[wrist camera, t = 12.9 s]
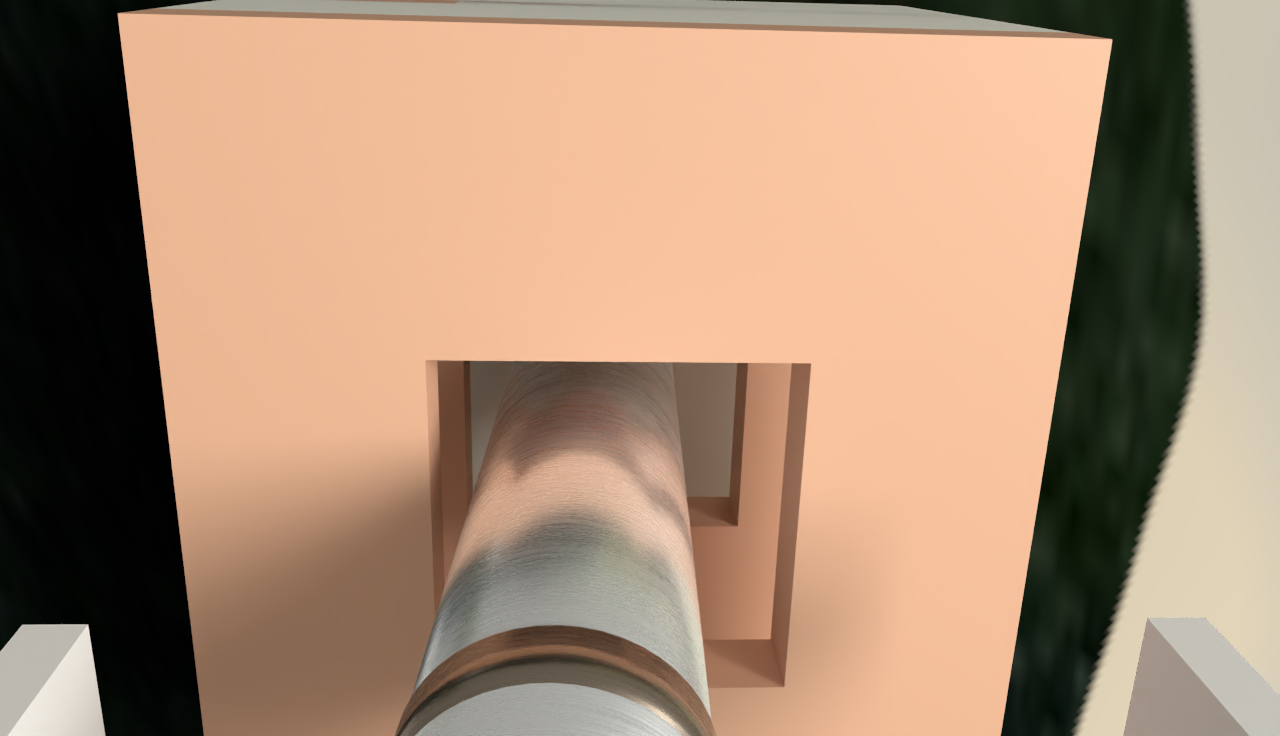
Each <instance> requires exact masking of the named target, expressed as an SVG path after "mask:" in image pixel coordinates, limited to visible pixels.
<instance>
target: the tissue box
mask: <svg viewBox="0 0 1280 736" xmlns="http://www.w3.org/2000/svg"><path fill="white" fill-rule="evenodd" d="M118 20H119V28H120V37H121V45H122V53H123V62H124V70H125V79H126V87H127V95H128V104H129V112H130V120H131V129H132V137H133V145H134V154H135V162H136V170H137V179H138V187H139V196H140V204H141V212H142V221H143V229H144V237H145V246H146V254H147V262H148V271H149V279H150V288H151V296H152V304H153V313H154V321H155V329H156V338H157V346H158V354H159V363H160V371H161V379H162V388H163V396H164V405H165V413H166V421H167V430H168V438H169V446H170V455H171V463H172V471H173V480H174V488H175V497H176V505H177V513H178V522H179V530H180V538H181V547H182V555H183V563H184V572H185V580H186V588H187V597H188V605H189V614H190V622H191V630H192V639H193V647H194V655H195V664H196V672H197V680H198V689H199V697H200V706H201V714H202V722H203V731H204V736H395V733H396V730H397V727H398V724H399V722H400V719H401V716H402V714H403V711H404V709H405V707H406V705H407V704H408V702H409V700H410V698H411V696H412V693H413V690H414V686H415V683H416V680H417V676H418V673H419V670H420V667H421V663H422V660H423V657H424V653H425V650H426V647H427V644H428V640H429V637H430V634H431V630H432V627H433V624H434V620H435V617H436V614H437V611H438V607H439V604H440V601H441V597H442V594H443V591H444V587H445V584H446V581H447V578H448V574H449V571H450V568H451V564H452V561H453V558H454V554H455V551H456V548H457V545H458V541H459V538H460V535H461V531H462V528H463V525H464V521H465V518H466V515H467V512H468V508H469V505H470V502H471V498H472V495H473V492H474V489H475V485H476V482H477V479H478V475H479V472H480V469H481V465H482V462H483V459H484V456H485V452H486V449H487V446H488V442H489V439H490V436H491V432H492V429H493V426H494V423H495V419H496V416H497V413H498V409H499V406H500V403H501V399H502V396H503V393H504V390H505V386H506V383H507V380H508V376H509V373H510V370H511V366H512V363H513V361H576V362H672V367H673V376H674V385H675V394H676V403H677V412H678V421H679V430H680V439H681V448H682V457H683V467H684V476H685V485H686V494H687V503H688V512H689V521H690V530H691V539H692V548H693V557H694V566H695V576H696V585H697V594H698V603H699V612H700V621H701V630H702V639H703V648H704V657H705V666H706V675H707V685H708V694H709V703H710V712H711V721H712V724H713V727H714V730H715V733H716V736H1000V735H1001V729H1002V723H1003V717H1004V710H1005V704H1006V698H1007V692H1008V686H1009V679H1010V673H1011V667H1012V661H1013V654H1014V648H1015V642H1016V636H1017V630H1018V623H1019V617H1020V611H1021V605H1022V599H1023V592H1024V586H1025V580H1026V574H1027V567H1028V561H1029V555H1030V549H1031V543H1032V536H1033V530H1034V524H1035V518H1036V511H1037V505H1038V499H1039V493H1040V487H1041V480H1042V474H1043V468H1044V462H1045V456H1046V449H1047V443H1048V437H1049V431H1050V424H1051V418H1052V412H1053V406H1054V400H1055V393H1056V387H1057V381H1058V375H1059V369H1060V362H1061V356H1062V350H1063V344H1064V337H1065V331H1066V325H1067V319H1068V313H1069V306H1070V300H1071V294H1072V288H1073V281H1074V275H1075V269H1076V263H1077V257H1078V250H1079V244H1080V238H1081V232H1082V226H1083V219H1084V213H1085V207H1086V201H1087V194H1088V188H1089V182H1090V176H1091V170H1092V163H1093V157H1094V151H1095V145H1096V139H1097V132H1098V126H1099V120H1100V114H1101V107H1102V101H1103V95H1104V89H1105V83H1106V76H1107V70H1108V64H1109V58H1110V51H1111V45H1112V39H1107V38H1100V37H1094V36H1088V35H1081V34H1075V33H1069V32H1062V31H1056V30H1050V29H1043V28H1037V27H1031V26H1024V25H1018V24H1012V23H1005V22H999V21H993V20H987V19H980V18H974V17H968V16H961V15H955V14H949V13H942V12H936V11H930V10H923V9H917V8H911V7H904V6H891V5H855V4H819V3H783V2H747V1H711V0H216V1H208V2H201V3H193V4H185V5H178V6H170V7H162V8H155V9H147V10H139V11H132V12H124V13H118Z"/></svg>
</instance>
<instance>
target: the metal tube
mask: <svg viewBox="0 0 1280 736" xmlns="http://www.w3.org/2000/svg"><path fill="white" fill-rule="evenodd" d="M395 736H716V733H715V730H714V727H713V724H712V721H711V712H710V703H709V694H708V685H707V675H706V666H705V657H704V648H703V639H702V630H701V621H700V612H699V603H698V594H697V585H696V576H695V566H694V557H693V548H692V539H691V530H690V521H689V512H688V503H687V494H686V485H685V476H684V467H683V457H682V448H681V439H680V430H679V421H678V412H677V403H676V394H675V385H674V376H673V367H672V362H576V361H513V363H512V366H511V370H510V373H509V376H508V380H507V383H506V386H505V390H504V393H503V396H502V399H501V403H500V406H499V409H498V413H497V416H496V419H495V423H494V426H493V429H492V432H491V436H490V439H489V442H488V446H487V449H486V452H485V456H484V459H483V462H482V465H481V469H480V472H479V475H478V479H477V482H476V485H475V489H474V492H473V495H472V498H471V502H470V505H469V508H468V512H467V515H466V518H465V521H464V525H463V528H462V531H461V535H460V538H459V541H458V545H457V548H456V551H455V554H454V558H453V561H452V564H451V568H450V571H449V574H448V578H447V581H446V584H445V587H444V591H443V594H442V597H441V601H440V604H439V607H438V611H437V614H436V617H435V620H434V624H433V627H432V630H431V634H430V637H429V640H428V644H427V647H426V650H425V653H424V657H423V660H422V663H421V667H420V670H419V673H418V676H417V680H416V683H415V686H414V690H413V693H412V696H411V698H410V700H409V702H408V704H407V705H406V707H405V709H404V711H403V714H402V716H401V719H400V722H399V724H398V727H397V730H396V733H395Z"/></svg>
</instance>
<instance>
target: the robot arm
mask: <svg viewBox="0 0 1280 736" xmlns="http://www.w3.org/2000/svg"><path fill="white" fill-rule="evenodd" d="M0 736H105V731H104V724H103V718H102V711H101V705H100V698H99V692H98V685H97V679H96V672H95V666H94V659H93V653H92V647H91V640H90V634H89V627H88V624H57V625H22V626H21V627H20V628H19V629H18V631H17V632H16V633H15V634H14V636H13V637H12V638H11V639H10V640H9V642H8V643H7V644H6V645H5V647H4V648H3V649H2V650H1V651H0ZM1124 736H1280V695H1279V694H1278V693H1277V692H1276V691H1275V690H1274V689H1273V688H1272V687H1271V686H1270V685H1269V684H1268V683H1267V682H1266V680H1265V679H1264V678H1263V677H1262V676H1261V675H1260V674H1259V673H1258V672H1257V671H1256V670H1255V669H1254V668H1253V667H1252V666H1251V665H1250V664H1249V663H1248V662H1247V661H1246V660H1245V658H1244V657H1243V656H1242V655H1241V654H1240V653H1239V652H1238V651H1237V650H1236V649H1235V648H1234V647H1233V646H1232V645H1231V644H1230V643H1229V642H1228V641H1227V640H1226V639H1225V638H1224V636H1222V634H1221V633H1219V631H1218V630H1217V629H1216V628H1215V627H1214V626H1213V625H1212V624H1211V623H1210V622H1209V621H1208V620H1207V619H1206V618H1147V623H1146V628H1145V633H1144V638H1143V642H1142V647H1141V653H1140V657H1139V662H1138V667H1137V672H1136V677H1135V682H1134V687H1133V692H1132V697H1131V702H1130V707H1129V711H1128V716H1127V721H1126V726H1125V731H1124Z"/></svg>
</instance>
